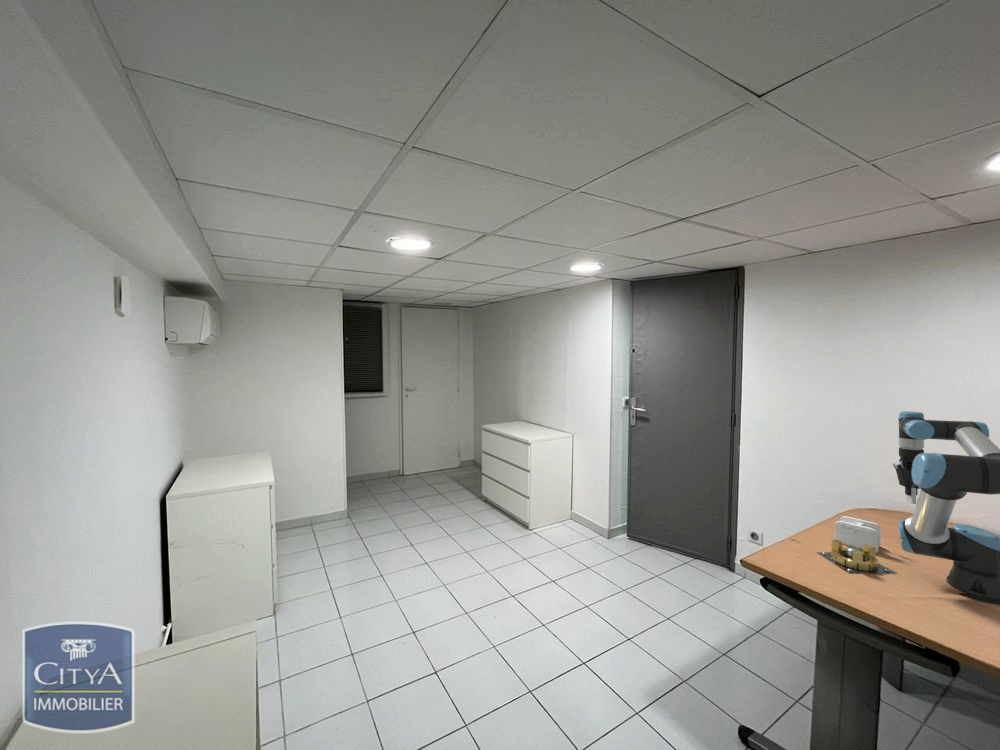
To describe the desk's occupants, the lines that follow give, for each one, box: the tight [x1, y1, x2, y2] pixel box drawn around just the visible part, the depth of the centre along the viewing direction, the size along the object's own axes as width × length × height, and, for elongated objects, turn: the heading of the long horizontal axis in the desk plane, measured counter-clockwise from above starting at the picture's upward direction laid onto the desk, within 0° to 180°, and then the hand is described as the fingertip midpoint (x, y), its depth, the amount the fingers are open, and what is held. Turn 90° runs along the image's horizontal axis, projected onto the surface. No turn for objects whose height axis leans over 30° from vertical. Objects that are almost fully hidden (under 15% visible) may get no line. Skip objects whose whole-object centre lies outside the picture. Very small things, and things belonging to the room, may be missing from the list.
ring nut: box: [831, 538, 879, 571], centre depth 167 cm, size 14×14×7 cm
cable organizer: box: [834, 515, 882, 554], centre depth 183 cm, size 15×11×12 cm
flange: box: [816, 546, 897, 575], centre depth 167 cm, size 18×18×7 cm
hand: (911, 502), depth 171 cm, fingers closed
